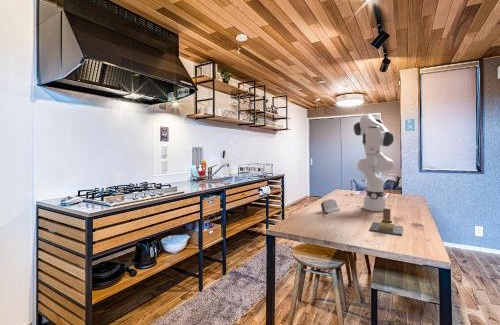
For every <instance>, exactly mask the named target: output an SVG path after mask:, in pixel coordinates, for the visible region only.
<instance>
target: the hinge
mask: <svg viewBox="0 0 500 325" xmlns="http://www.w3.org/2000/svg"><path fill="white" fill-rule="evenodd" d="M336 200H337V199H333V198H331V199H330V198H329V199H326V200H324V201H322V202H321V203H320V209H321V213H322V214H325V213H327V215H330V213H331V214H333V213H334V214H335V213H337V211H338V212H340V210H341V208H340V207H339V205H338V203H337V201H336Z"/></svg>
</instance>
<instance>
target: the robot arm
mask: <svg viewBox="0 0 500 325" xmlns="http://www.w3.org/2000/svg"><path fill="white" fill-rule="evenodd" d="M356 122H357V123H355V124H354V125H353V126H352V127H353V129H352V131H353V133H354V135H355V136H362V140H361V141H362V142H361V143H362V144H363V149H364V154H365V155H366V156H365V157H366V158H362V159H359V160H358V162H357V164H356V166H357V169H358V171H359V172H360V173H362V174H363V176H364V177H365V179H366V180H365V181H366V191H365V193H366V196H365V197H363V205H361V206H360V208H361V209H364V210H367V211H372V212H383V208H388V207H387V203H386V202H387V201H386V199H385V195H384V193H385V192H384V181H383V180H382V178H379V177H377V176H376V174H387V173H391V172H393V171H394V169H395V162H394V161H393V160H392V159H391V158H389V157H387V156H386V155H385V154H383V151H382V150H381V147H389V146H391V145H392V144H394V135H393V134H394V133H392V132H391V131H390V130H388V128H386V126H385V125H384V122H383V121H382V119H381V118H374V116H373V115H372V114H368V113H367V114H363V115H362V116H361V117H360V119H359V122H358V121H356Z"/></svg>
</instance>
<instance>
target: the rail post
mask: <svg viewBox="0 0 500 325" xmlns="http://www.w3.org/2000/svg"><path fill="white" fill-rule="evenodd" d="M382 214H383V216H382V217H383V218H382V220H383V222H384V223H390V221H391V208H390V207H389V208H388V207H387V208H383V211H382Z"/></svg>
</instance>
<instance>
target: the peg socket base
mask: <svg viewBox="0 0 500 325" xmlns="http://www.w3.org/2000/svg"><path fill="white" fill-rule="evenodd" d="M403 229H404V226H403V225H397V224H395V221H394V220H390V223H384V222H383V218H382V219H379V222H376V221H375V222H372V224H371V225H370V228H369V232H373V233H381V234H389V235H394V236H399V237H400V236H401V237H402V236H403V231H404V230H403Z"/></svg>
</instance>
